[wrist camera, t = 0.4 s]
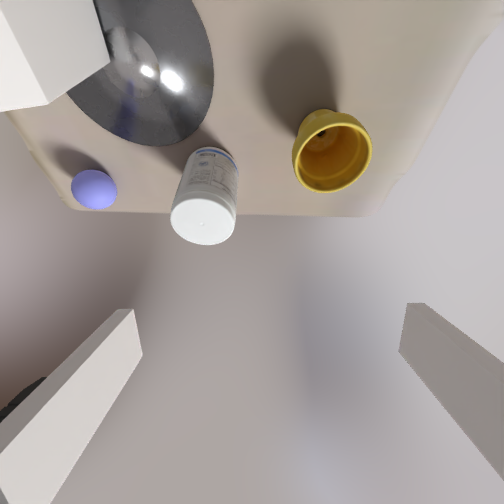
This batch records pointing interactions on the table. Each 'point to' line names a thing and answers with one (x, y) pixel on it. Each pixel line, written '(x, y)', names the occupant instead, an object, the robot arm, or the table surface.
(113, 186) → the sphere
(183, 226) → the supplement tub
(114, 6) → the turntable
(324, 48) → the table surface
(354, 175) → the plant pot
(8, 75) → the milk carton
